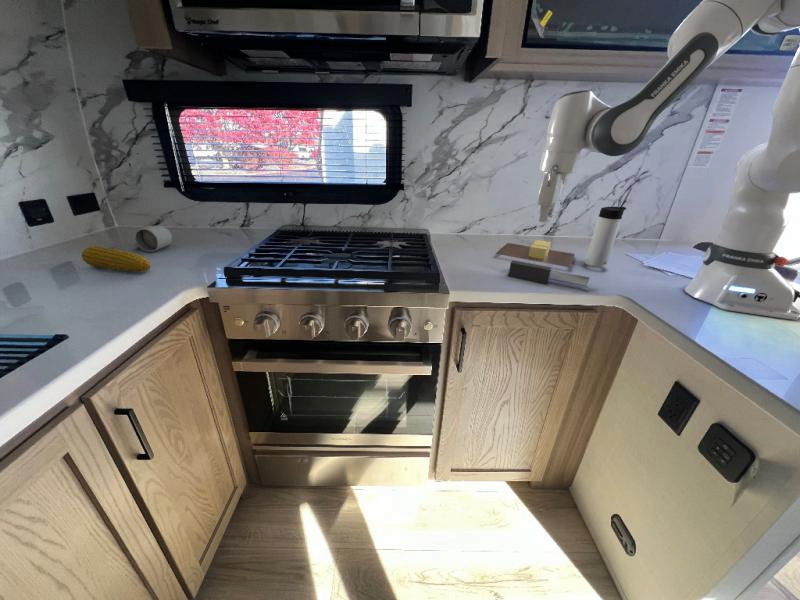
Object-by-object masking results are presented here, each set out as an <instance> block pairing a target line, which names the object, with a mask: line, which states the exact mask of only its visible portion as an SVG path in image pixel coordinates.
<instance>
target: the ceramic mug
mask: <svg viewBox="0 0 800 600" xmlns="http://www.w3.org/2000/svg"><path fill="white" fill-rule="evenodd" d="M134 241H135V243H134V247H135V248H136V249H140V250H142V251H144V252H147V253H153V252H156V251H159V250H161V249H163V248H166V247H168V246H169V245H171V244H172V242H173V233H172V232H171V231H170V229H168V228H167V227H165V226H163V225H152V226H149V227H142V228H139V229H138V230H136V232H135V235H134Z"/></svg>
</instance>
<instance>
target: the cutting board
mask: <svg viewBox="0 0 800 600" xmlns="http://www.w3.org/2000/svg"><path fill="white" fill-rule="evenodd" d="M530 247H531V246H528V245H523V244H517V243H513V242H507V243H506V244H504V245H503V246H502V247H501V248H500V249H499V250H498V251H496V253H495V254H496V255H500V256H505V257H506V256H507V257H511V258H517V259H523V260H528V261H533V262H539V263H543V264H549V265H555V266H560V267H561V266H562V267H566V268H571V267H572V265H573V261H574V258H575V255H576V254H575V253H571V252H565V251H559V250H554V249H549V252H548V253H547V255H546V256H545V258H544V259H540V258H534V257H529V252H530Z"/></svg>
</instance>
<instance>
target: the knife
mask: <svg viewBox="0 0 800 600" xmlns="http://www.w3.org/2000/svg"><path fill="white" fill-rule="evenodd" d="M507 276H508V277H509V278H514V279H519V280H524V281H527V282H532V283H533V282H534V283H538V284H542V285H548V284H550V285H554V286H559V287H563V288H568V289H573V290H577V291H583V292H586V291H587V289H588V285H589V280H590V277H589V276H583V275H579V274H573V273H568V272H563V271H558V270H552V267H550V266H545V265H541V264H540V265H539V264H534V263H530V262H524V261H519V260H513V259H512V261H511V262H510V265H509V269H508V275H507Z"/></svg>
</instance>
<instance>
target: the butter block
mask: <svg viewBox="0 0 800 600" xmlns="http://www.w3.org/2000/svg"><path fill="white" fill-rule="evenodd" d="M551 243H552V242H551V241H547V240H541V239H536V240H535V241H534V242H533V243H532V245H537V246H543V247H547V252H546V255H547V253H548V252H549V250H550V247H551Z"/></svg>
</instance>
